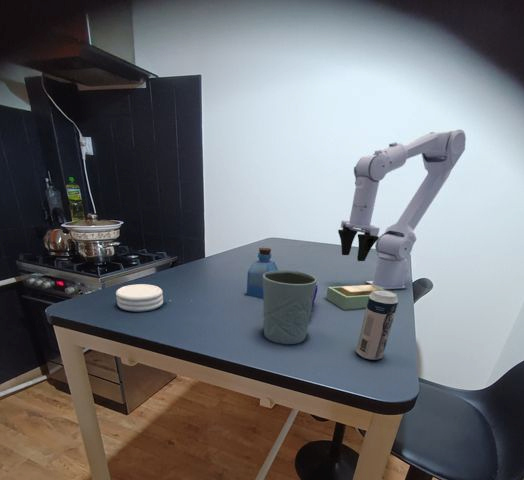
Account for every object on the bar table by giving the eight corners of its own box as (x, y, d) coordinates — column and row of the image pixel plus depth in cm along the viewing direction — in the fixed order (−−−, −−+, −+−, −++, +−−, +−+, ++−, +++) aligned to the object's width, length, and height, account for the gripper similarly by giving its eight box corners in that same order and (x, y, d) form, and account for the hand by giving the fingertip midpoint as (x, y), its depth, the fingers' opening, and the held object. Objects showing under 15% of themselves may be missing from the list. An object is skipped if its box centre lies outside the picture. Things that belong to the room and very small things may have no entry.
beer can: (383, 363, 56) (402, 299, 51) (356, 359, 57) (371, 295, 52) (380, 351, 61) (397, 290, 55) (355, 347, 61) (369, 287, 56)
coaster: (146, 294, 80) (144, 281, 78) (172, 304, 75) (171, 290, 73) (108, 304, 73) (106, 289, 71) (135, 316, 68) (133, 300, 66)
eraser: (368, 296, 89) (370, 285, 88) (378, 302, 86) (381, 289, 84) (338, 299, 86) (340, 286, 84) (347, 304, 82) (350, 291, 81)
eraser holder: (370, 295, 92) (372, 284, 91) (390, 305, 85) (393, 294, 84) (325, 298, 87) (327, 287, 85) (344, 309, 80) (346, 297, 78)
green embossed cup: (307, 349, 59) (316, 286, 54) (254, 341, 61) (258, 280, 55) (309, 328, 68) (317, 272, 63) (263, 322, 69) (267, 267, 64)
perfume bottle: (276, 293, 88) (280, 248, 82) (267, 299, 83) (270, 252, 77) (257, 289, 90) (259, 245, 85) (246, 294, 85) (248, 248, 80)
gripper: (335, 203, 90) (327, 252, 96) (368, 208, 78) (356, 264, 85) (355, 204, 93) (347, 252, 99) (390, 209, 81) (377, 263, 87)
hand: (352, 257), depth 92 cm, fingers open, 7 cm apart
